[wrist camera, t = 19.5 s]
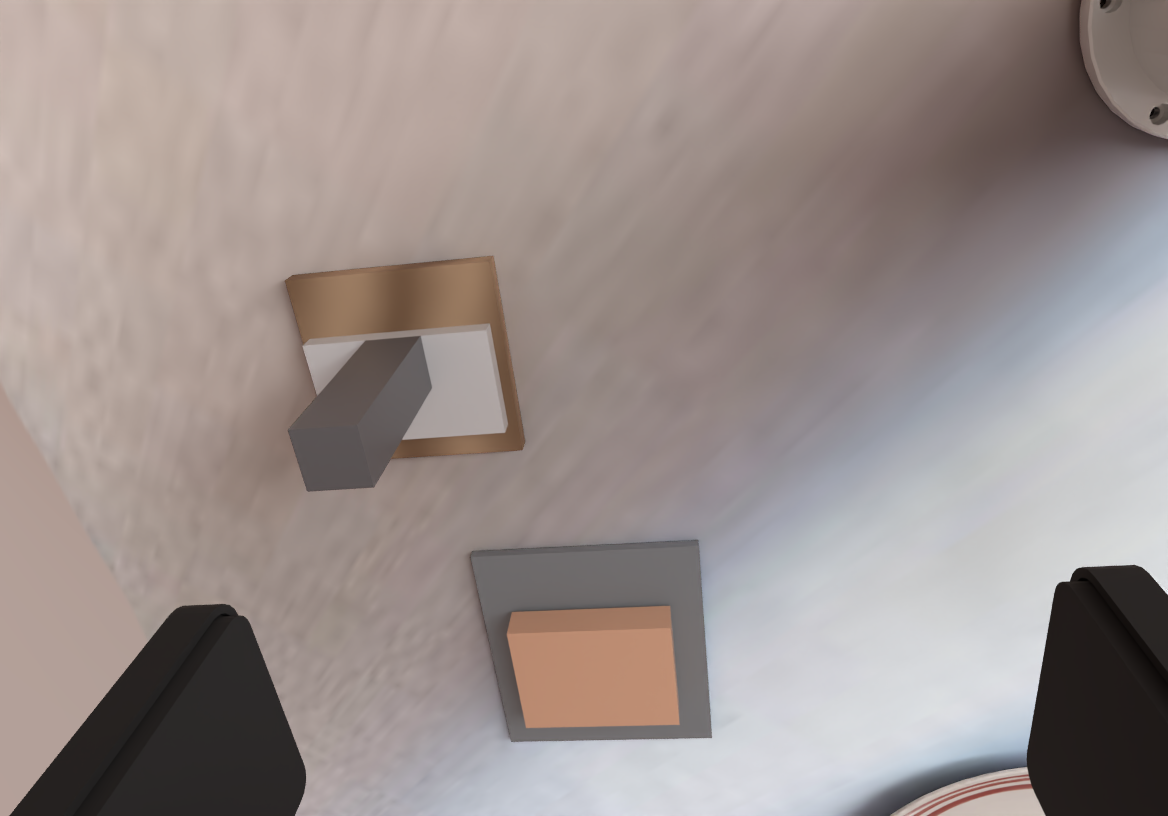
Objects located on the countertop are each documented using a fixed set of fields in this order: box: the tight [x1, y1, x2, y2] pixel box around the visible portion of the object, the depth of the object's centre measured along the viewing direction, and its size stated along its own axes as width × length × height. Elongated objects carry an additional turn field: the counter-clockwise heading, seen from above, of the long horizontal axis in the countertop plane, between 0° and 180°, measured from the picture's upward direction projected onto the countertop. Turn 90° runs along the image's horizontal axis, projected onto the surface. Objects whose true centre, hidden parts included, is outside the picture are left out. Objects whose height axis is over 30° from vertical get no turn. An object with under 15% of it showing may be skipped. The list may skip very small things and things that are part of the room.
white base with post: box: [288, 323, 508, 491], centre depth 39 cm, size 6×10×11 cm, turn 97°
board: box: [285, 256, 525, 459], centre depth 44 cm, size 11×11×1 cm
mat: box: [471, 540, 712, 742], centre depth 53 cm, size 14×16×1 cm
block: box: [507, 606, 680, 728], centre depth 52 cm, size 10×2×8 cm
